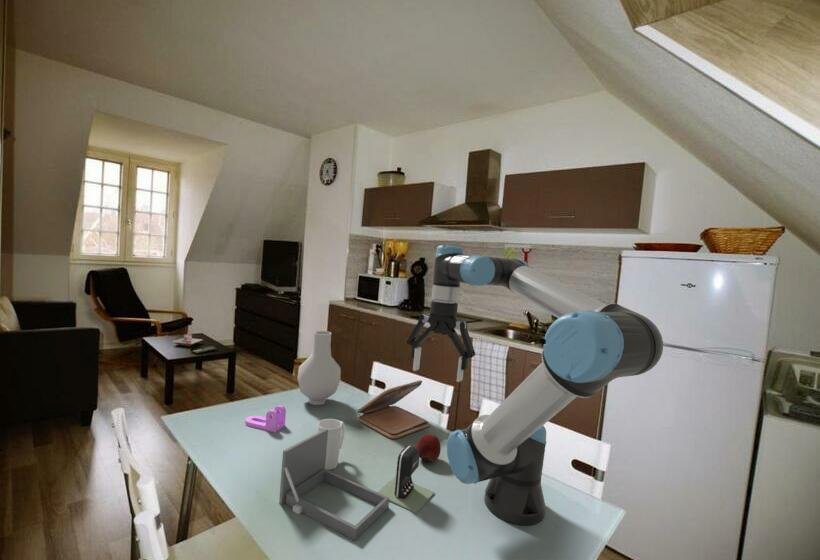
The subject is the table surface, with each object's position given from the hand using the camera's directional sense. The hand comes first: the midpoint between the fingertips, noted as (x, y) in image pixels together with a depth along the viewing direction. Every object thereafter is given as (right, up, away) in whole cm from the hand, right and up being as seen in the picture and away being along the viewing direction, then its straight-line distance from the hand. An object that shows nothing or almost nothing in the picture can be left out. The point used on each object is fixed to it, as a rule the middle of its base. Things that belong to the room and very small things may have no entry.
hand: (437, 375), depth 112 cm
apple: (-2, -28, +9) cm, 30 cm away
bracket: (-57, -22, +22) cm, 65 cm away
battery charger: (-9, -29, -9) cm, 31 cm away
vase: (-45, -22, +45) cm, 67 cm away
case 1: (-25, -28, -16) cm, 41 cm away
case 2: (-14, -26, +33) cm, 44 cm away
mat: (-9, -29, -9) cm, 31 cm away
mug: (-31, -26, +3) cm, 40 cm away
